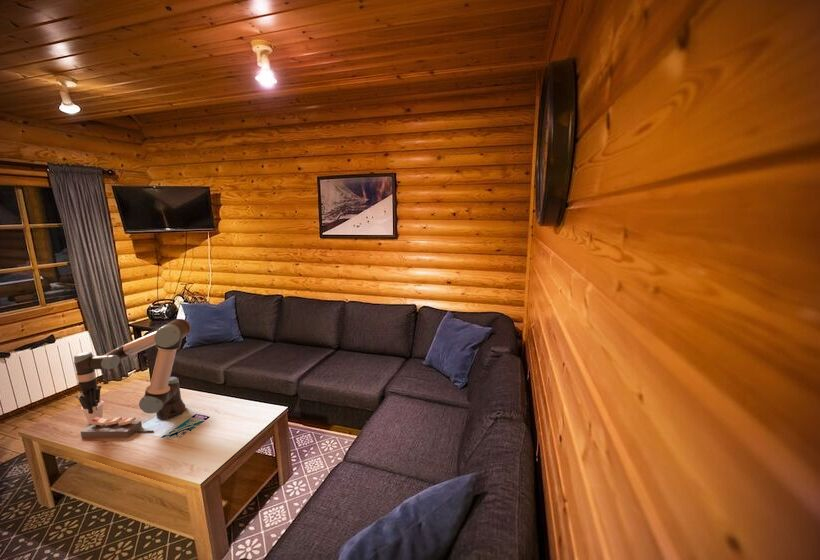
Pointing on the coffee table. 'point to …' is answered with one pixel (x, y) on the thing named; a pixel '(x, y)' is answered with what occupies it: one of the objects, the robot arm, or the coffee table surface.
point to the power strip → (112, 430)
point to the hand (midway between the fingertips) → (93, 417)
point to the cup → (99, 411)
